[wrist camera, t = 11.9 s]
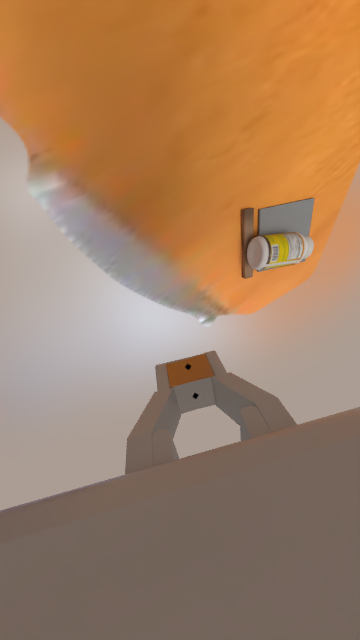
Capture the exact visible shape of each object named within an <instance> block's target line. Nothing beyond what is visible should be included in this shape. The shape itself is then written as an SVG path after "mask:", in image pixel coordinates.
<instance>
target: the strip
mask: <svg viewBox="0 0 360 640" xmlns="http://www.w3.org/2000/svg"><path fill="white" fill-rule="evenodd" d="M253 214H254V208H247V209H243V210H241V226H242V277H243V278H245V279H246V278H250V277H253V268H252V267H251V266H250V265H249V263H248V259H247V249H248V245H249V243H250V241H251V240H252V239H253Z"/></svg>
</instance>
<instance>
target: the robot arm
mask: <svg viewBox="0 0 360 640" xmlns="http://www.w3.org/2000/svg"><path fill="white" fill-rule="evenodd" d="M155 369H156V378H157V389H158V391H157V392H154V394H153V396H152V398H151V399H150V401H149V403H148V404H147V406H146V408H145V409H144V411H143V413H142V415H141V416H140V418H139V420H138V421H137V423H136V425H135V426H134V428H133V430H132V432H131V433H130V435H129V437H128V438H127V450H126V467H125V475H122V476H119V477H115V478H112V479H108V480H105V481H102V482H98V483H95V484H91V485H88V486H84V487H81V488H77V489H74V490H71V491H67V492H63V493H60V494H57V495H53V496H50V497H46V498H43V499H39V500H36V501H32V502H29V503H25V504H22V505H18V506H15V507H11V508H8V509H4V510H1V511H0V640H360V407H358V408H355V409H351V410H348V411H344V412H341V413H337V414H334V415H330V416H327V417H323V418H320V419H316V420H313V421H309V422H306V423H303V424H299V425H297V424H296V423H295V421H294V420H293V418H292V417H291V416H290V414H289V413H288V411H287V410H286V409H285V407H284V406H283V405H282V403H281V402H280V400H279V399H278V398H277V397H275V396H274V395H272V394H270V393H268V392H266V391H264V390H262V389H260V388H258V387H257V386H255V385H253V384H251V383H249V382H247V381H245V380H244V379H242V378H240V377H238V376H236V375H234V374H232V373H227V372H226V370H225V368H224V367H223V364H222V363H221V361H220V359H219V357H218V355H217V353H216V352H215V351H210V352H206V353H203V354H200V355H196V356H192V357H188V358H184V359H180V360H176V361H171V362H167V363H164V364H159V365H156V367H155ZM215 404H216V406H217V407H218V408H220V409H221V410H222V411H223V412H224V413H226V414H227V415H228V416H229V417H230V418H231V419H233V420H234V421H235V422H236V423H237V424H239V425H240V430H241V442H237V443H233V444H230V445H226V446H223V447H219V448H216V449H212V450H209V451H206V452H202V453H199V454H195V455H192V456H188V457H185V458H182V459H179V457H178V454H177V451H176V448H175V445H174V442H173V437H174V434H175V431H176V428H177V426H178V423H179V420H180V417H181V414H182V413H185V412H188V411H192V410H195V409H199V408H203V407H207V406H211V405H215Z"/></svg>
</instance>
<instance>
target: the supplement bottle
mask: <svg viewBox="0 0 360 640" xmlns="http://www.w3.org/2000/svg"><path fill="white" fill-rule="evenodd" d="M313 247H314V244H313V240H312V239H311V238H310V237H309V236H303V235H302V234H300V233H298V232H291V233H281V234H273V235H263V236H257V237H255V238H253V239H252V240H251V241H250V243H249V245H248V249H247V259H248V263H249V265H250V266H251V267H252V268H253V269H255V270H261V269H268V268H275V267H282V266H289V265H295V264H297V263H299V262H300V261H301V260H302V259H305V258H307V257H309V256H310V255H311V253H312V251H313Z"/></svg>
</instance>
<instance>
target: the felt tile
mask: <svg viewBox="0 0 360 640" xmlns="http://www.w3.org/2000/svg"><path fill="white" fill-rule="evenodd" d="M313 204H314V198H310V199H305V200H301V201H296V202H291V203H287V204H282V205H277V206H272V207H268V208H263V209H258V236H263V235H273V234H281V233H291V232H298V233H300V234H302V235H303V236H309V231H310V225H311V218H312V211H313ZM305 259H306V258H305ZM305 259H302V260H301V261H300V262H303V261H305ZM275 268H277V267H275ZM269 269H273V268H268V269H261V270H257V271H258V272H260V271H264V270H269Z"/></svg>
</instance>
